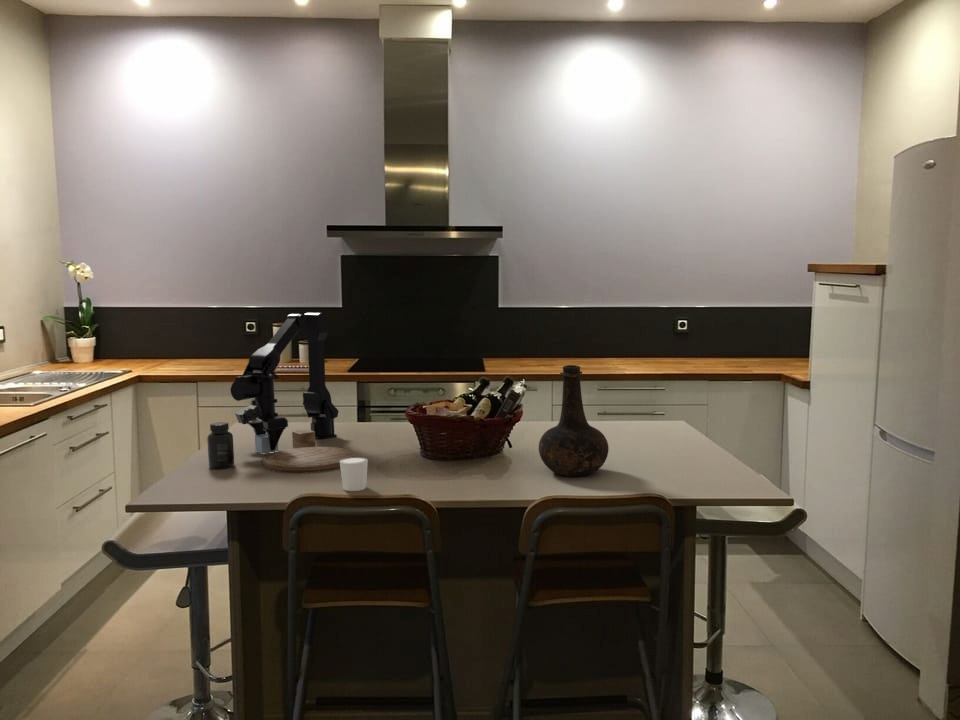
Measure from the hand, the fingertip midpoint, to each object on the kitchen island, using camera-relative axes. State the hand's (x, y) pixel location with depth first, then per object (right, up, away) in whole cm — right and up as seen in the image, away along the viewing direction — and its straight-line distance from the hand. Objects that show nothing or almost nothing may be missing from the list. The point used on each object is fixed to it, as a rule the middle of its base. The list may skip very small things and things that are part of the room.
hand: (266, 448), depth 250 cm
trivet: (+15, -3, -13) cm, 20 cm away
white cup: (+32, -6, -42) cm, 53 cm away
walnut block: (+10, -1, +5) cm, 11 cm away
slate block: (0, -1, 0) cm, 1 cm away
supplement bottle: (-8, -3, -17) cm, 19 cm away
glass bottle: (+87, -3, -30) cm, 92 cm away
